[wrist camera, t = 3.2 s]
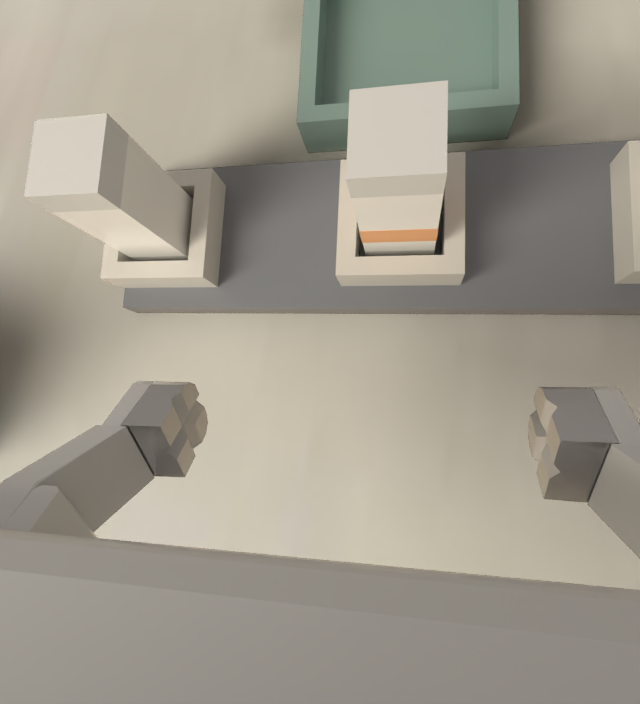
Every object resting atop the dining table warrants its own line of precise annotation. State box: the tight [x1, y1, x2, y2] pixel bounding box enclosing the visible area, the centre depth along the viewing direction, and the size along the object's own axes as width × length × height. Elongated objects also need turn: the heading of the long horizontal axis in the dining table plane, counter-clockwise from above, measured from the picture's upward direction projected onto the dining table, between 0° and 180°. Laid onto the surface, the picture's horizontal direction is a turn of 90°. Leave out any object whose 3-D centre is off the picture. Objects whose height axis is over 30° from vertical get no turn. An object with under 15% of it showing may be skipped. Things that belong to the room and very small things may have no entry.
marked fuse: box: [346, 80, 448, 256], centre depth 21 cm, size 4×4×9 cm
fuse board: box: [100, 140, 640, 315], centre depth 25 cm, size 9×34×4 cm, turn 87°
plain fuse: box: [24, 113, 193, 261], centre depth 23 cm, size 4×4×9 cm
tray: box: [297, 0, 520, 153], centre depth 27 cm, size 12×12×3 cm
